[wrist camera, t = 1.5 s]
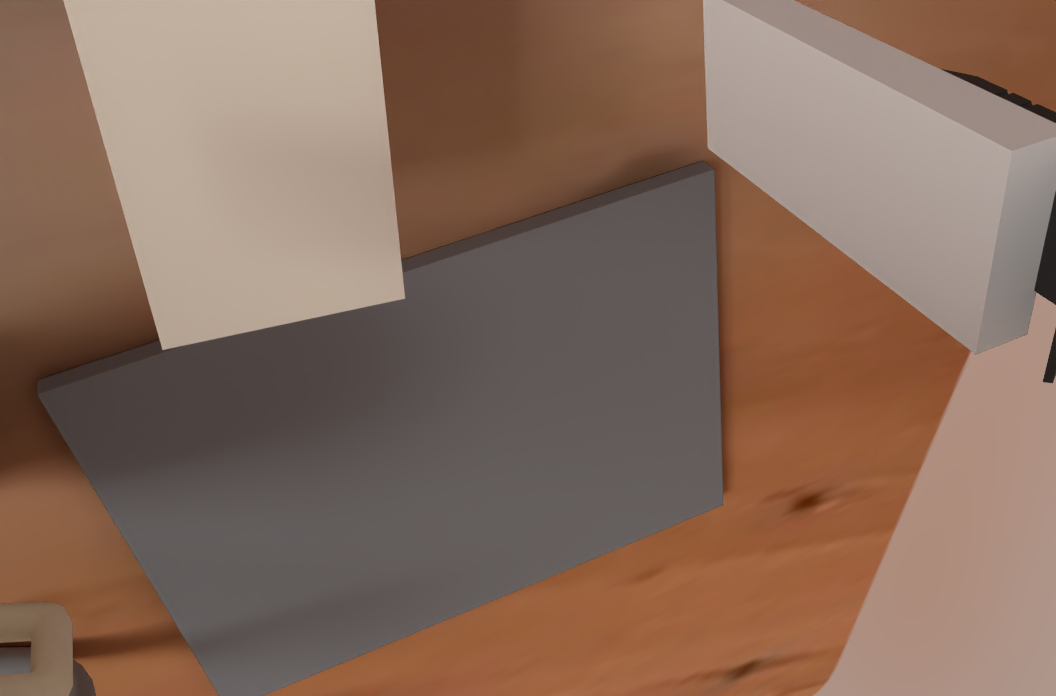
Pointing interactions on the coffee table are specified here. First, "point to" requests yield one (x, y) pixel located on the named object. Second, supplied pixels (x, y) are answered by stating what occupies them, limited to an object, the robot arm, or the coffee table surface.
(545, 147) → the coffee table surface
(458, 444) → the rubber mat
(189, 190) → the cream block
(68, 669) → the character mug
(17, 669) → the newton's cradle
